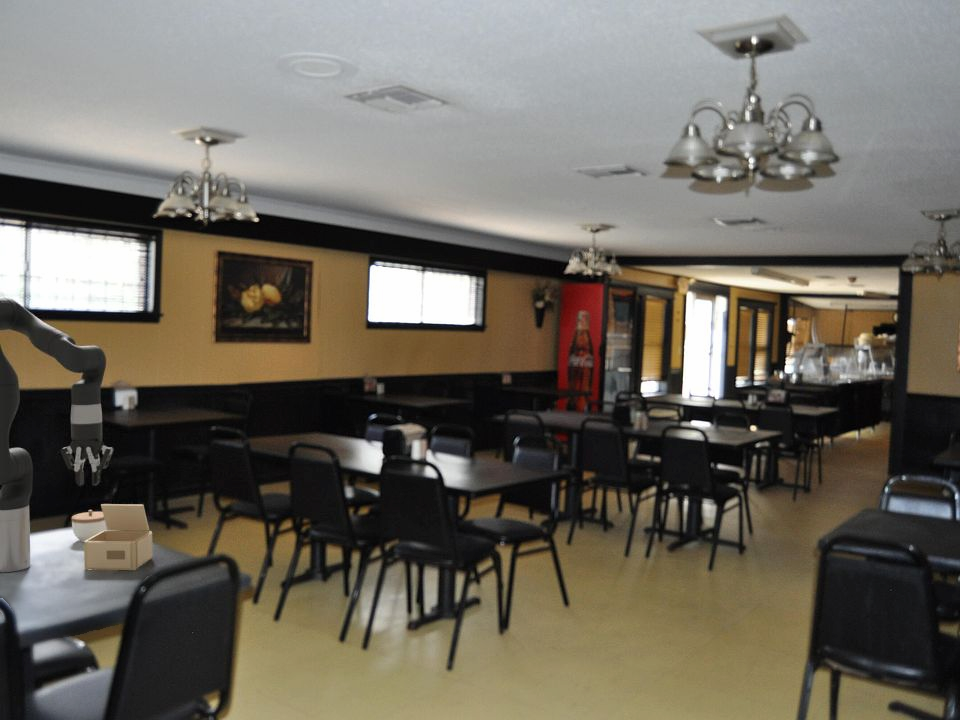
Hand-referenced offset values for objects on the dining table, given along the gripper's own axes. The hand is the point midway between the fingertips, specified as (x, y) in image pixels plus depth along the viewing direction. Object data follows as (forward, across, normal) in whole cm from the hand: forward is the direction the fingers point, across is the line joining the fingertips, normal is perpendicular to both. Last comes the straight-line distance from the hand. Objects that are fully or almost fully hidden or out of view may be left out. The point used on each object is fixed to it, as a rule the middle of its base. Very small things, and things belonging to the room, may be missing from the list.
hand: (87, 484), depth 230 cm
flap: (+17, -2, -19) cm, 25 cm away
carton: (+25, -2, -12) cm, 28 cm away
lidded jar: (+25, +17, -38) cm, 49 cm away
